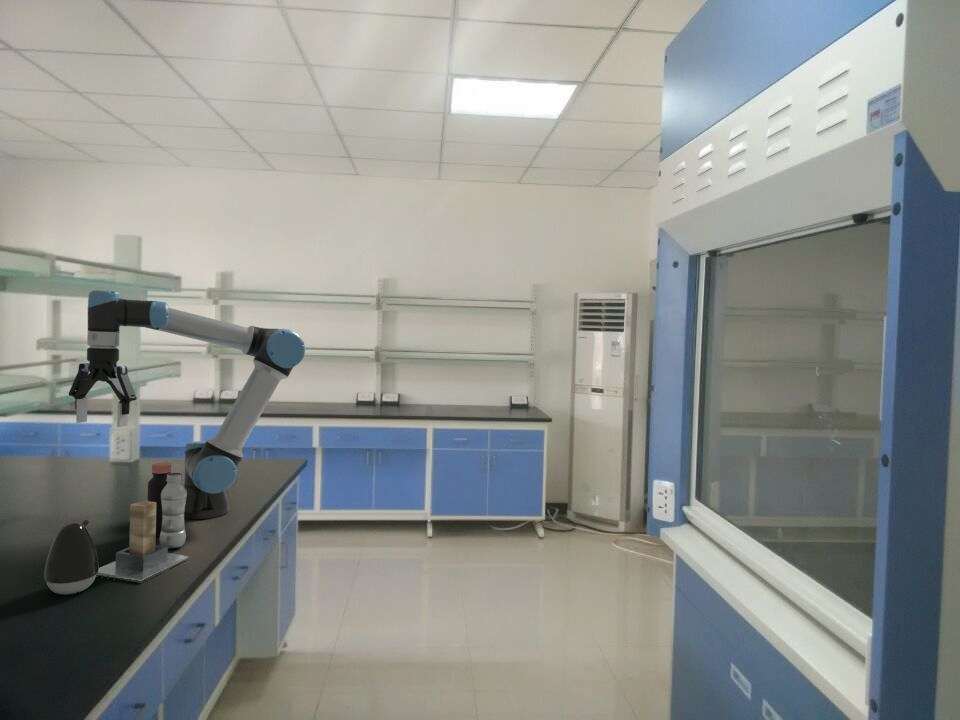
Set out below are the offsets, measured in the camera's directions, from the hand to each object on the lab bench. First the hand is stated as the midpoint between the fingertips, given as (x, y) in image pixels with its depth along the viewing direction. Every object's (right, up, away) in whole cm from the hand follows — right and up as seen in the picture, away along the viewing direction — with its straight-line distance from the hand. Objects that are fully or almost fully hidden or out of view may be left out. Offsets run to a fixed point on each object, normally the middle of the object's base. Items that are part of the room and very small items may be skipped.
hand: (101, 424), depth 170 cm
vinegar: (+12, -32, +7) cm, 35 cm away
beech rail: (+21, -33, -17) cm, 42 cm away
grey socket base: (+21, -34, -17) cm, 43 cm away
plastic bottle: (+21, -33, -3) cm, 39 cm away
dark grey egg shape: (+12, -34, -31) cm, 48 cm away
